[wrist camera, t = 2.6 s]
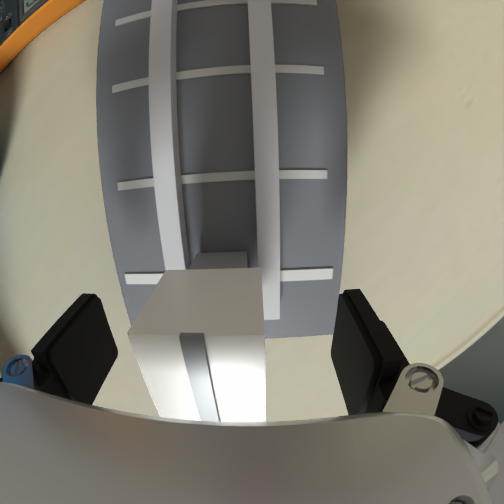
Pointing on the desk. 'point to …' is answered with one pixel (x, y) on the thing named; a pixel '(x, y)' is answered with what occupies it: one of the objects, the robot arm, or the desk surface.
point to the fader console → (226, 147)
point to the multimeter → (27, 23)
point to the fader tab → (205, 341)
